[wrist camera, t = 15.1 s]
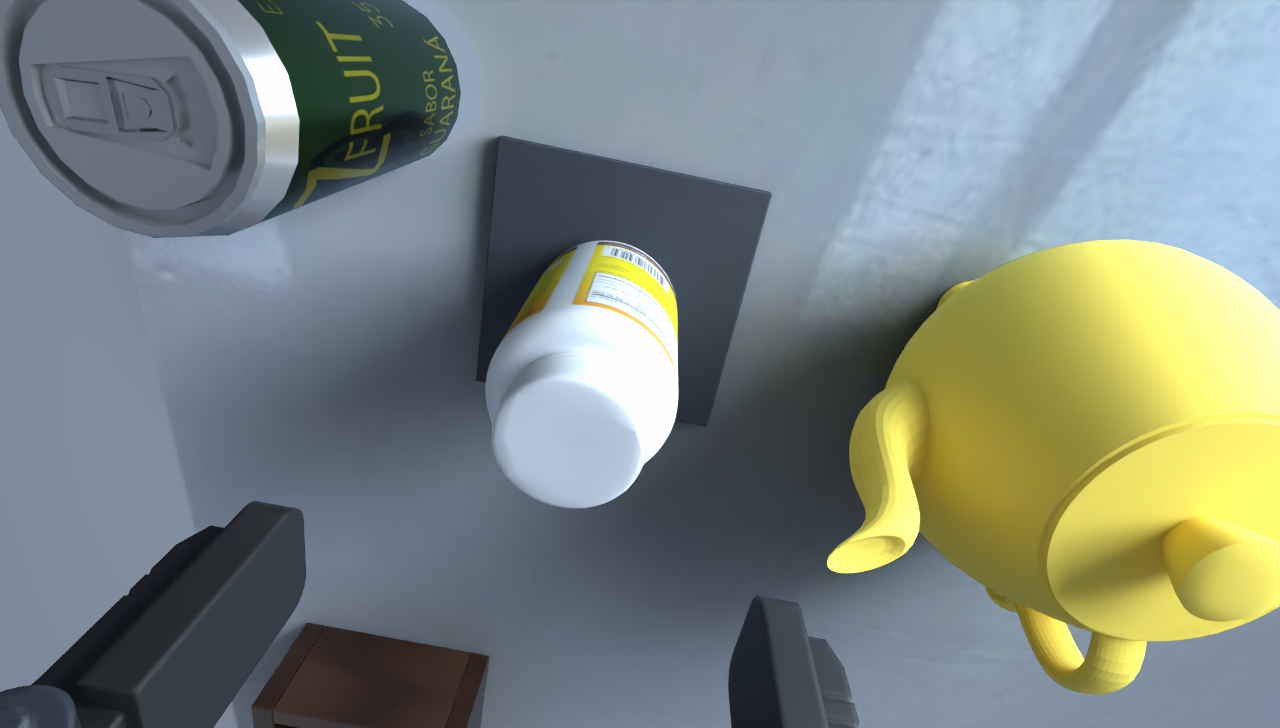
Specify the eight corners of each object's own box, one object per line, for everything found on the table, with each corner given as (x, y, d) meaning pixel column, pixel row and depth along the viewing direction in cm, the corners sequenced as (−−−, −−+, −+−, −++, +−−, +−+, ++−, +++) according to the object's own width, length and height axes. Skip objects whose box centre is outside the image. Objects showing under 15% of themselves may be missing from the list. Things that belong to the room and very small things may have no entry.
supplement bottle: (551, 373, 27) (482, 539, 18) (526, 243, 24) (431, 355, 15) (684, 363, 26) (686, 529, 17) (672, 228, 24) (667, 337, 15)
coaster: (478, 376, 28) (475, 381, 27) (500, 135, 23) (498, 136, 23) (706, 421, 28) (706, 426, 27) (770, 191, 23) (772, 194, 23)
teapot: (751, 525, 30) (788, 771, 20) (792, 206, 24) (879, 322, 13) (1192, 551, 29) (1472, 821, 19) (1359, 227, 23) (1922, 369, 12)
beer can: (323, 152, 24) (25, 232, 13) (306, -15, 21) (-74, -87, 11) (467, 170, 24) (288, 265, 13) (466, 4, 21) (247, -47, 11)
